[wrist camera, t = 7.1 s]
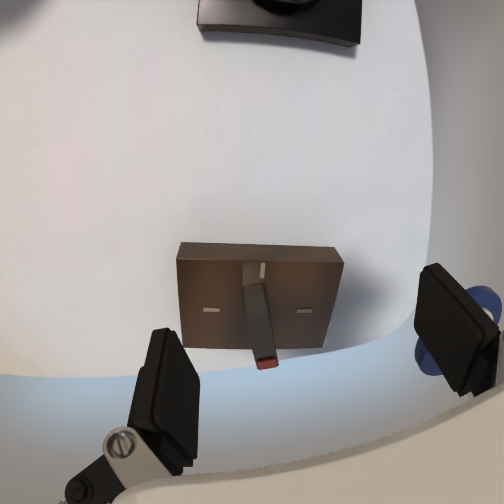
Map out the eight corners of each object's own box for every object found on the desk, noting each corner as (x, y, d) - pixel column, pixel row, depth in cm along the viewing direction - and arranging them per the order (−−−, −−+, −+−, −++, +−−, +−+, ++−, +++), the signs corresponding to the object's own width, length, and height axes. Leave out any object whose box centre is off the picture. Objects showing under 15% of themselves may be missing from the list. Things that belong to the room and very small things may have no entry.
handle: (242, 287, 26) (245, 324, 22) (263, 283, 26) (270, 319, 22) (253, 334, 29) (257, 372, 24) (272, 330, 29) (279, 368, 24)
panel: (334, 247, 28) (345, 263, 26) (315, 328, 33) (322, 348, 30) (180, 241, 27) (175, 259, 24) (185, 327, 32) (182, 348, 29)
